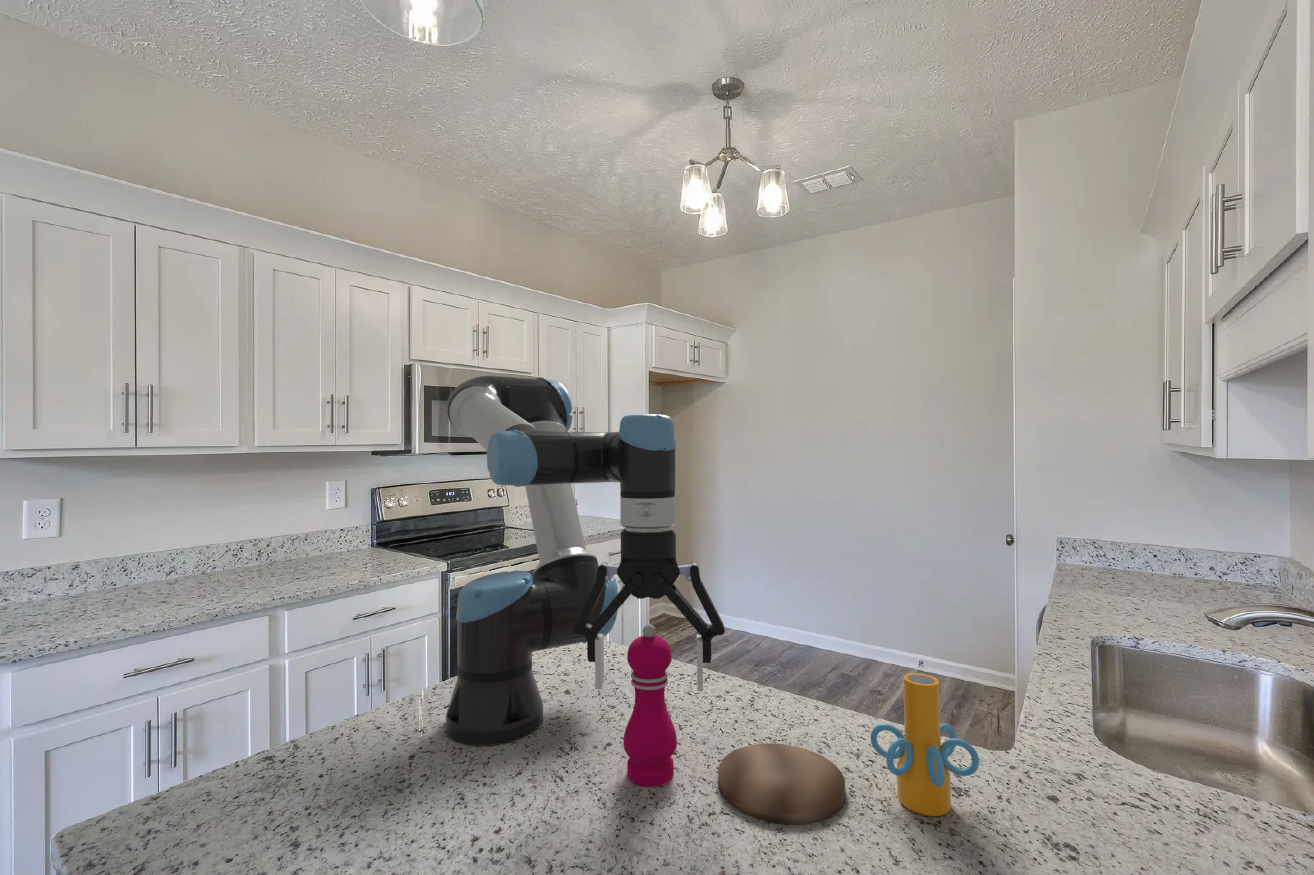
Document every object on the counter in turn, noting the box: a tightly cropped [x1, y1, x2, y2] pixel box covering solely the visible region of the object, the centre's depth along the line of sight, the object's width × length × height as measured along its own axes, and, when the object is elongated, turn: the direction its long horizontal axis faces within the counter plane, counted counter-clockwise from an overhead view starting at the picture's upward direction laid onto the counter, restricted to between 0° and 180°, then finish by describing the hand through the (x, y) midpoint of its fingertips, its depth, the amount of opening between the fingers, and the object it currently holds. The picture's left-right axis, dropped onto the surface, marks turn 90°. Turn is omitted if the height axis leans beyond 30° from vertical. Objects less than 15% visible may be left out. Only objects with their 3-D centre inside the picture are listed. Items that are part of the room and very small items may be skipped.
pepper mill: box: [622, 624, 678, 788], centre depth 79 cm, size 7×7×20 cm
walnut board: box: [717, 743, 846, 826], centre depth 76 cm, size 16×16×2 cm
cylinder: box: [870, 672, 980, 817], centre depth 72 cm, size 12×10×15 cm
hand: (649, 686), depth 79 cm, fingers open, 13 cm apart
